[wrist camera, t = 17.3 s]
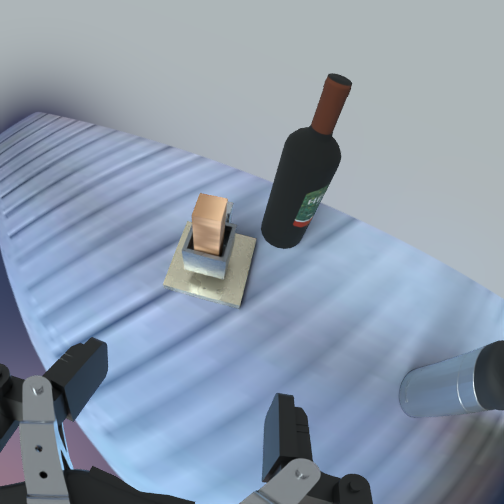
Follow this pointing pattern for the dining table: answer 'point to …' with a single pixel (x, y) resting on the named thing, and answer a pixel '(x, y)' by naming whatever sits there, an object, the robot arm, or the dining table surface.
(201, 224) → the tan wooden block
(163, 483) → the dining table surface
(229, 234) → the cup bracket
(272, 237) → the wine bottle
